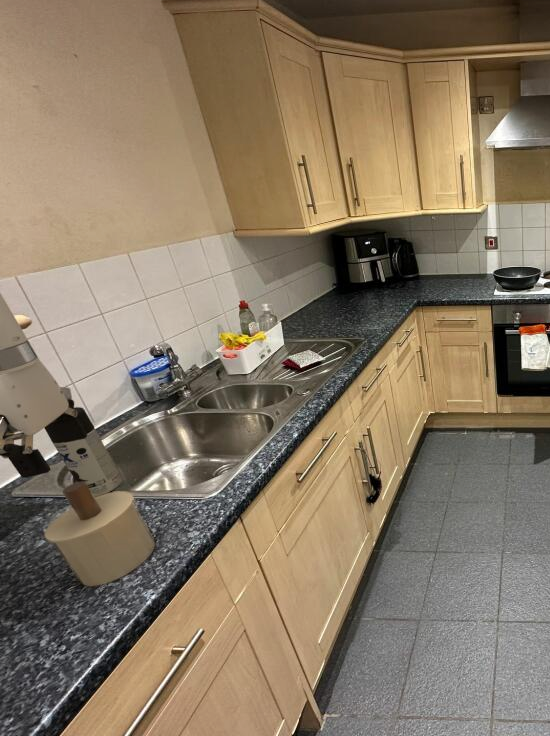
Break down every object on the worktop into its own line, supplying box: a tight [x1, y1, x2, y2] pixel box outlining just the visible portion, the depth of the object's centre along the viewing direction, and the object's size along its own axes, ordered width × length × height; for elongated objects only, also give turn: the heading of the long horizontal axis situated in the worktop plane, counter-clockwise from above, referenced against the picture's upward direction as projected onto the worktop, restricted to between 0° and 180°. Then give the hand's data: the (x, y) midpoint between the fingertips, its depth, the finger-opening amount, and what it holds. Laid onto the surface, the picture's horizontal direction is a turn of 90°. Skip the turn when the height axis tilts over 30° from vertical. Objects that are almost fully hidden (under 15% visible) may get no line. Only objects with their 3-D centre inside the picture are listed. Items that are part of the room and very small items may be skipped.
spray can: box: [44, 406, 123, 497], centre depth 90 cm, size 7×7×20 cm
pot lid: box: [44, 481, 135, 544], centre depth 69 cm, size 11×11×7 cm
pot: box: [52, 502, 156, 587], centre depth 72 cm, size 10×10×10 cm
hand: (57, 455), depth 66 cm, fingers open, 9 cm apart
